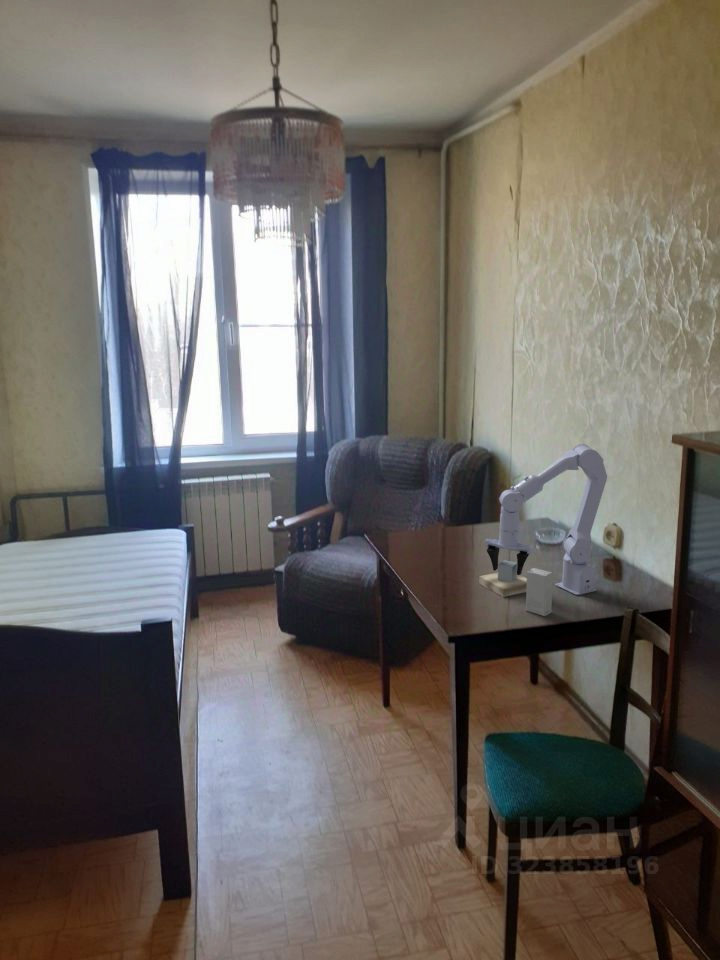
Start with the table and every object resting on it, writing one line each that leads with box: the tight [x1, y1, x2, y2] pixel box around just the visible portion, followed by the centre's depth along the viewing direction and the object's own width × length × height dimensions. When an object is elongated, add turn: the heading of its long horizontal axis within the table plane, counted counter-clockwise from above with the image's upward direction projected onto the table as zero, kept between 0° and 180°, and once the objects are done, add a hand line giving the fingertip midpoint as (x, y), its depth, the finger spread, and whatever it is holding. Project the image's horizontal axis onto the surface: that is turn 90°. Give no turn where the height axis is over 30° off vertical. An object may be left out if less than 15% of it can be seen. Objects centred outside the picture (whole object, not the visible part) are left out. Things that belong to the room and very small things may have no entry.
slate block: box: [497, 559, 517, 583], centre depth 214 cm, size 4×4×5 cm
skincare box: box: [525, 567, 554, 617], centre depth 195 cm, size 6×4×12 cm
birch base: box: [478, 572, 527, 598], centre depth 215 cm, size 12×12×2 cm
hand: (507, 571), depth 214 cm, fingers open, 7 cm apart
